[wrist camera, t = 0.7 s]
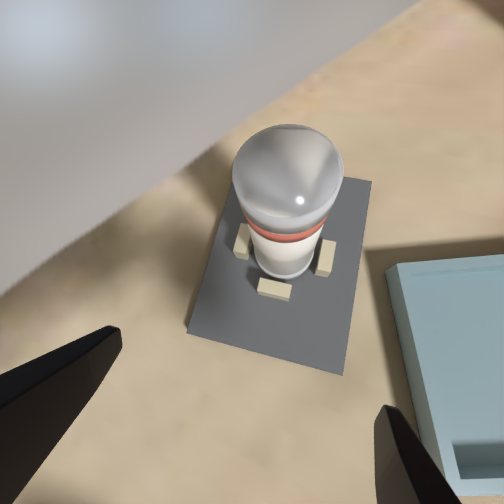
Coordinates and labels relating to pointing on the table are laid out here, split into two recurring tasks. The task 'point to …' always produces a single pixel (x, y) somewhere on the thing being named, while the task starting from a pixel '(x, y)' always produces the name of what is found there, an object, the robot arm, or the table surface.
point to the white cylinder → (286, 194)
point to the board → (285, 288)
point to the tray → (455, 364)
